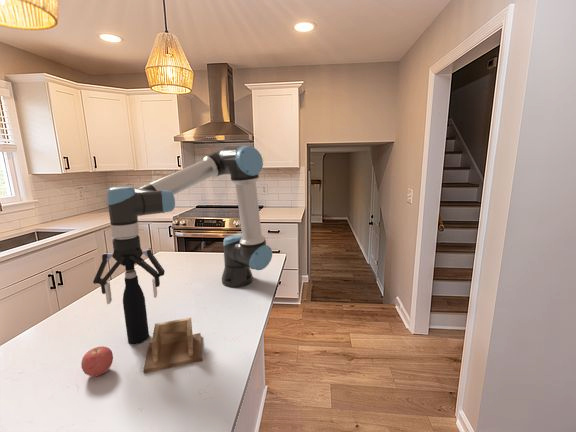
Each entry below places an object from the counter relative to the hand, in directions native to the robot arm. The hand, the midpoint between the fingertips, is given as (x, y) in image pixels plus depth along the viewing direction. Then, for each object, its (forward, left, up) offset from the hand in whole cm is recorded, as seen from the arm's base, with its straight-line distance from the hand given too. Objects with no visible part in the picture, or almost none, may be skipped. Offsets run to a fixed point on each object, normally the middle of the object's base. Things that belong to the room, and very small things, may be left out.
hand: (133, 299), depth 95 cm
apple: (+8, +14, -15) cm, 22 cm away
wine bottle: (0, 0, -15) cm, 15 cm away
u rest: (-12, +12, -15) cm, 22 cm away
